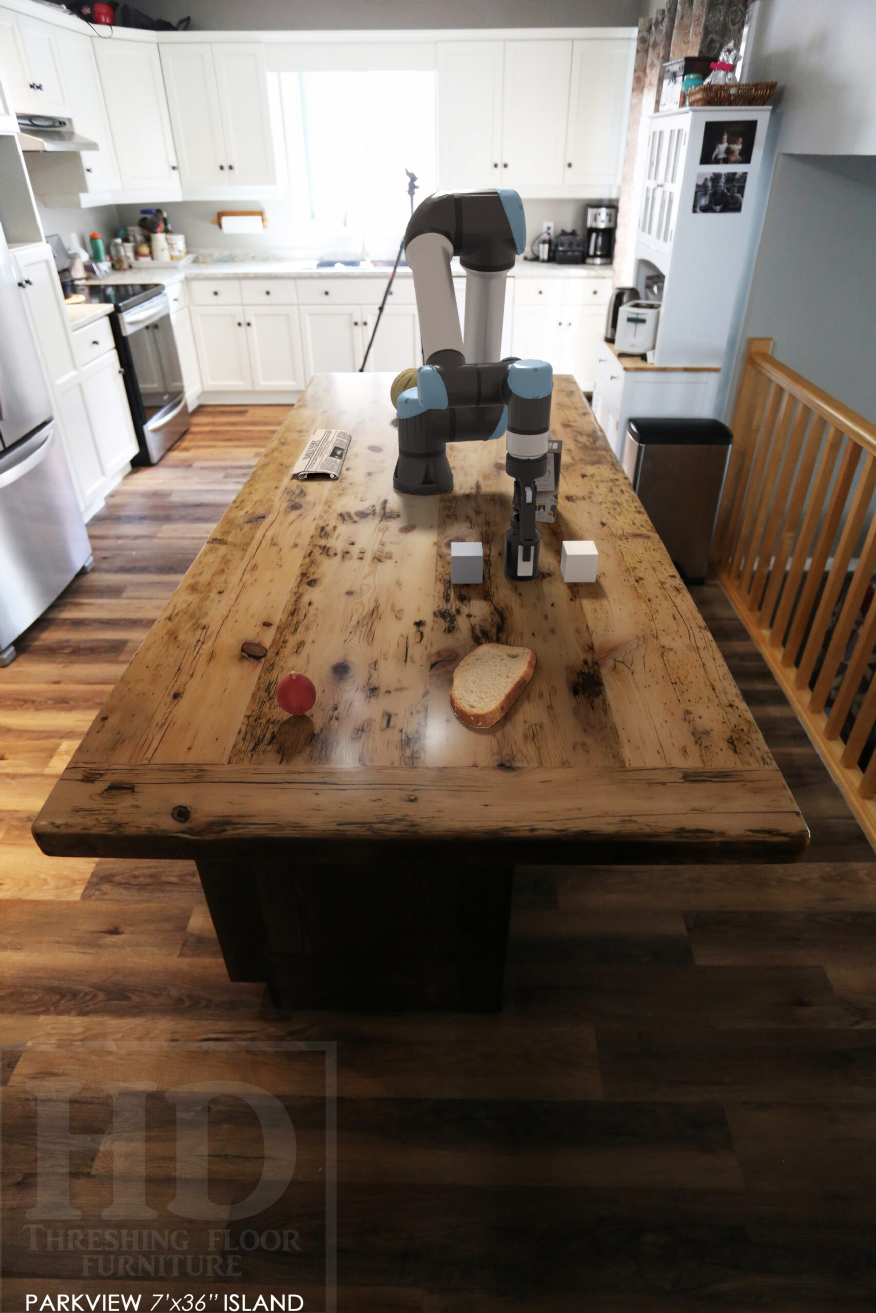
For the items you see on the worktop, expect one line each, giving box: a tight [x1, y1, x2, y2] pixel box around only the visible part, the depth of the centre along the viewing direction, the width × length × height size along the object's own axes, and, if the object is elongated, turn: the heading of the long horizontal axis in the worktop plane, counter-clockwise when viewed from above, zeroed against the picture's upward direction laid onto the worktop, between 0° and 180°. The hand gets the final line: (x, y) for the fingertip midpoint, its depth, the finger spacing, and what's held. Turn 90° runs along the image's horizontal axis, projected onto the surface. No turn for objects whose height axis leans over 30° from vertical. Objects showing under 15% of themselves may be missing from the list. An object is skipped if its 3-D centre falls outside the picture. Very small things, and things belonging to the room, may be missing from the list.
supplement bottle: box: [503, 513, 541, 582], centre depth 147 cm, size 7×7×12 cm
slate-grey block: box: [450, 541, 484, 585], centre depth 149 cm, size 6×6×6 cm
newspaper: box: [290, 426, 352, 480], centre depth 209 cm, size 35×12×4 cm, turn 0°
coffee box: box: [535, 439, 563, 524], centre depth 170 cm, size 9×6×16 cm
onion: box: [276, 671, 317, 717], centre depth 112 cm, size 6×6×8 cm
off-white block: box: [559, 540, 599, 583], centre depth 148 cm, size 6×6×6 cm
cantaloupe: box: [389, 367, 418, 411], centre depth 235 cm, size 15×15×15 cm
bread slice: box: [449, 642, 537, 729], centre depth 119 cm, size 18×18×4 cm
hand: (521, 558), depth 149 cm, fingers open, 13 cm apart
